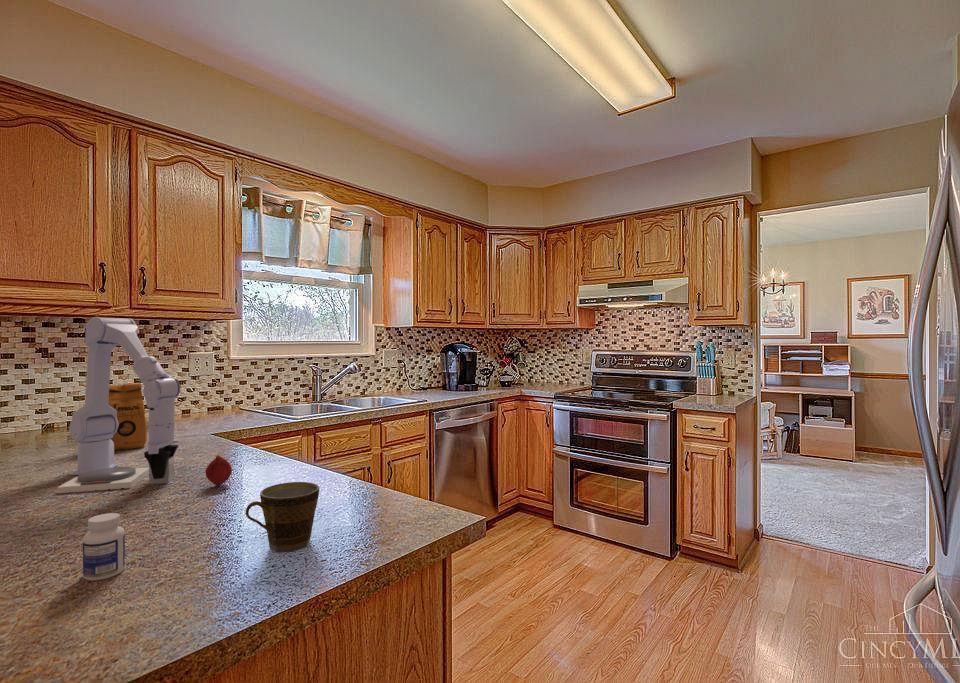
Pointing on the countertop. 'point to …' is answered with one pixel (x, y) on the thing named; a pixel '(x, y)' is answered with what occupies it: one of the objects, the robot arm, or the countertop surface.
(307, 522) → the ceramic cup
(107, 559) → the pill bottle
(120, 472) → the kitchen scale
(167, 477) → the block
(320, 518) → the countertop surface
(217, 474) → the onion
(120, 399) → the coffee package
